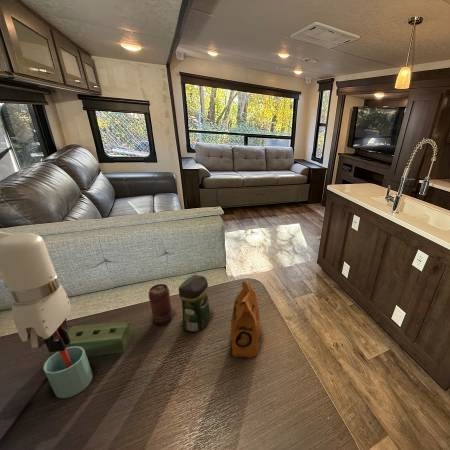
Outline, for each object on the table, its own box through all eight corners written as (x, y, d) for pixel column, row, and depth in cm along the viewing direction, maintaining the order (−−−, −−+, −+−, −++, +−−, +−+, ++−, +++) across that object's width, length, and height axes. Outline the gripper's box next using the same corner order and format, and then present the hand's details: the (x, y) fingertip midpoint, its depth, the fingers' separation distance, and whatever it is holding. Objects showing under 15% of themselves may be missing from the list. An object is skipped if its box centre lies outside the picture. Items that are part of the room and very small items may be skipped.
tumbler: (47, 400, 63) (35, 375, 59) (66, 372, 70) (56, 348, 66) (83, 395, 65) (73, 370, 61) (98, 368, 72) (90, 344, 68)
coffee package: (227, 360, 78) (225, 305, 69) (233, 329, 89) (232, 278, 80) (259, 359, 79) (261, 305, 70) (261, 329, 90) (263, 279, 81)
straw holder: (124, 352, 77) (120, 338, 75) (63, 359, 73) (57, 344, 71) (132, 334, 83) (129, 320, 81) (77, 340, 79) (71, 326, 77)
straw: (67, 372, 65) (49, 333, 59) (69, 368, 66) (52, 329, 60) (72, 371, 65) (55, 332, 59) (75, 367, 66) (58, 328, 60)
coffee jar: (194, 311, 95) (190, 270, 88) (213, 315, 94) (211, 274, 87) (179, 330, 86) (173, 287, 79) (200, 334, 85) (195, 291, 78)
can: (149, 321, 89) (143, 290, 83) (165, 311, 94) (160, 281, 88) (160, 329, 86) (155, 297, 81) (176, 317, 91) (172, 287, 86)
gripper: (39, 269, 61) (62, 325, 68) (-18, 314, 47) (17, 379, 54) (76, 267, 62) (93, 322, 70) (30, 310, 49) (58, 373, 56)
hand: (60, 347), depth 62 cm, fingers closed on straw, 1 cm apart
